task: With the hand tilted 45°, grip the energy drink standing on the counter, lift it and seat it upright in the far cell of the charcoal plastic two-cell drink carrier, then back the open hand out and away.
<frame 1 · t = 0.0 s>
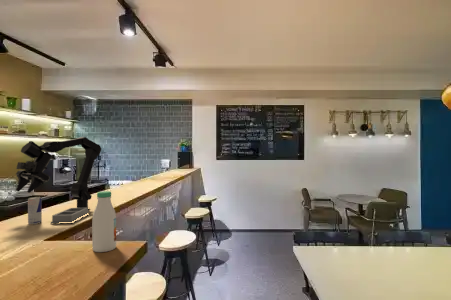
hand: (22, 191, 135), 15 cm above the worktop, tool tilted 35°, fingers open, 9 cm apart
milk bottle: (104, 249, 100), on the worktop
drink carrier: (71, 219, 142), on the worktop
energy drink: (34, 223, 135), on the worktop
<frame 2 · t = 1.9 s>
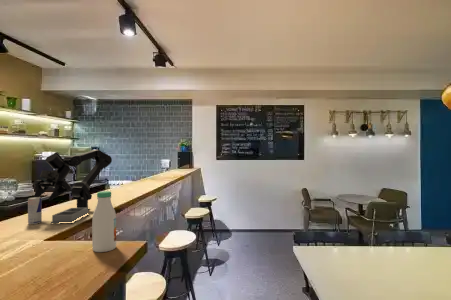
hand: (41, 199, 139), 11 cm above the worktop, tool tilted 45°, fingers open, 9 cm apart
nothing on the worktop moved.
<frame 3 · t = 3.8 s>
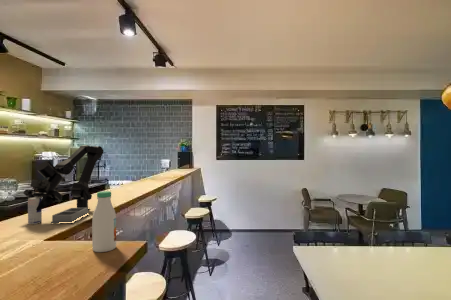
hand: (32, 209, 134), 7 cm above the worktop, tool tilted 45°, fingers closed on energy drink, 5 cm apart
energy drink: (34, 223, 135), on the worktop, touching gripper
everything else where it was.
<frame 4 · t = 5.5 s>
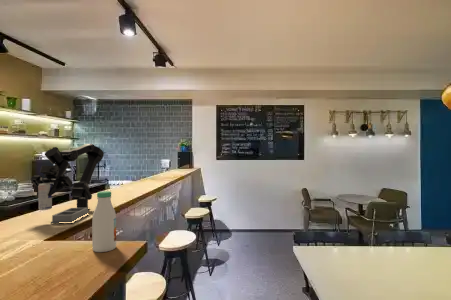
hand: (43, 195, 134), 13 cm above the worktop, tool tilted 45°, fingers closed on energy drink, 5 cm apart
energy drink: (45, 209, 135), point 6 cm above the worktop, touching gripper
everything else where it was.
when the fingers open (9 cm above the worktop, at t = 7.6 s): energy drink drops 1 cm, resting on drink carrier.
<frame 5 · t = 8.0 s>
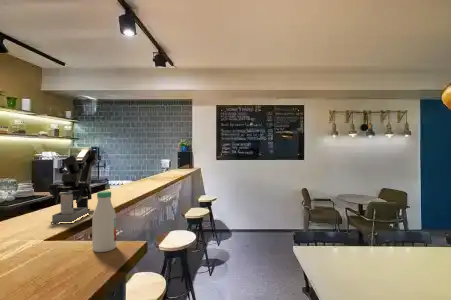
hand: (66, 203, 137), 9 cm above the worktop, tool tilted 45°, fingers open, 9 cm apart
energy drink: (67, 219, 138), point 1 cm above the worktop, touching drink carrier
everything else where it was.
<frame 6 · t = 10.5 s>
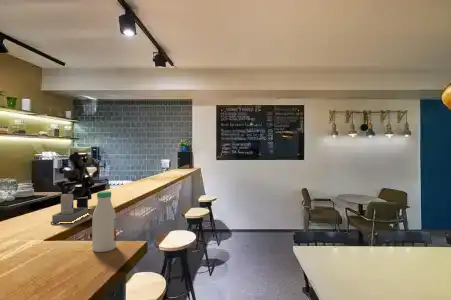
hand: (72, 197, 147), 10 cm above the worktop, tool tilted 40°, fingers open, 9 cm apart
nothing on the worktop moved.
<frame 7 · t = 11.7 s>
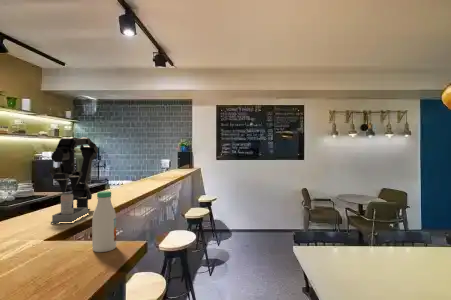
hand: (68, 191, 148), 13 cm above the worktop, tool pointing down, fingers open, 9 cm apart
nothing on the worktop moved.
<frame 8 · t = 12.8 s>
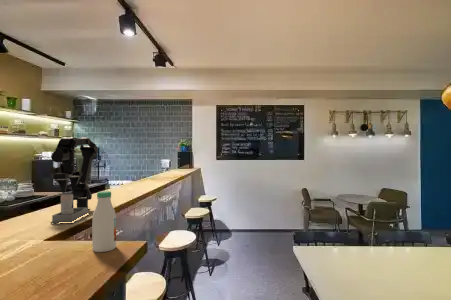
hand: (68, 191, 148), 13 cm above the worktop, tool pointing down, fingers open, 9 cm apart
nothing on the worktop moved.
at the end: energy drink 0.2 cm from the target spot on the drink carrier, point 0.8 cm above the drink carrier's base; energy drink tilted 0°; the gripper is holding nothing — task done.
